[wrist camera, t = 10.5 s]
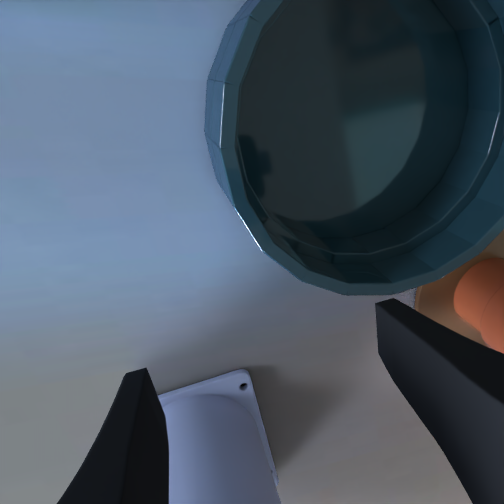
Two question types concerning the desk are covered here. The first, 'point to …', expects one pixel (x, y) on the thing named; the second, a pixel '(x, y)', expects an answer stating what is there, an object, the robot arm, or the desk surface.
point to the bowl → (362, 136)
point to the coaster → (442, 294)
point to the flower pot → (483, 301)
